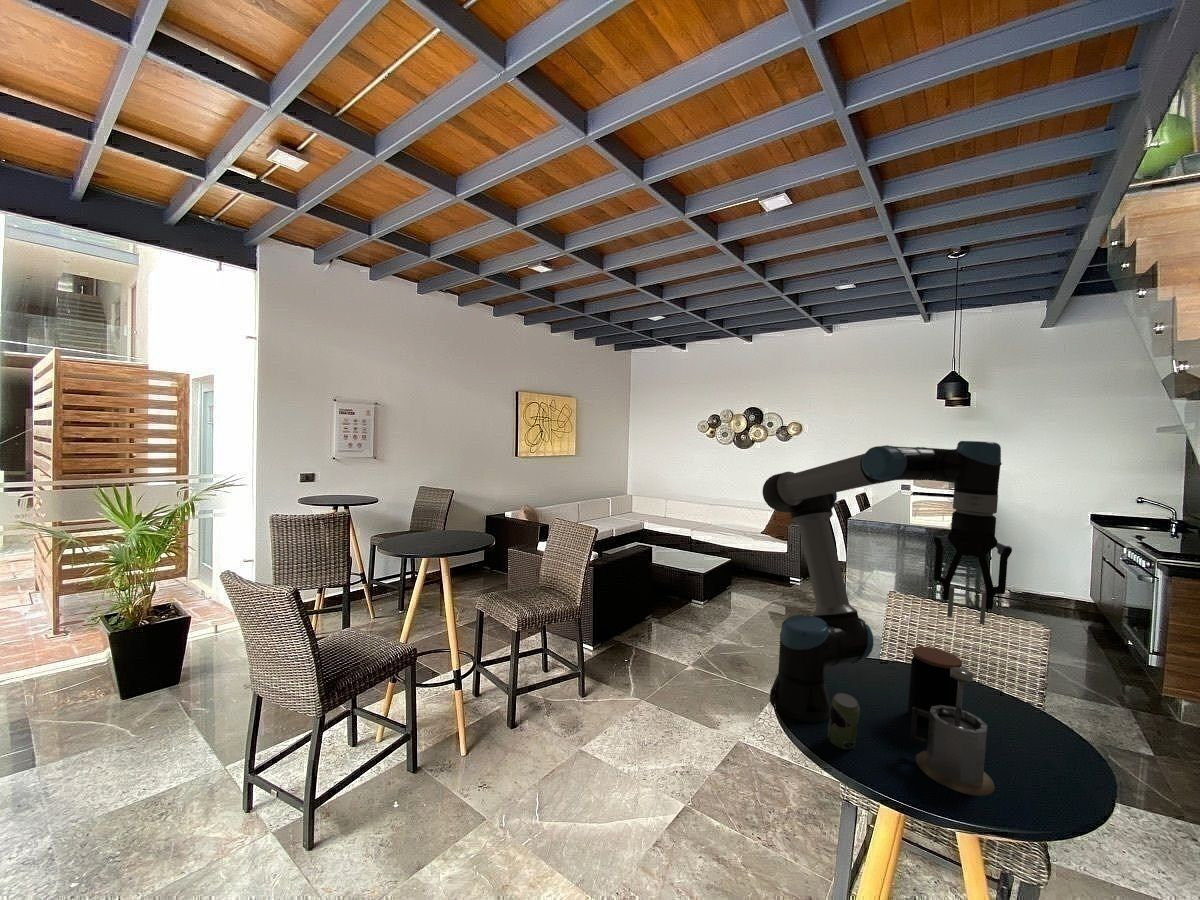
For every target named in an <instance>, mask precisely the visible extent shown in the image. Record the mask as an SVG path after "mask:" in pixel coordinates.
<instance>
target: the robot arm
mask: <svg viewBox="0 0 1200 900" xmlns="http://www.w3.org/2000/svg"><path fill="white" fill-rule="evenodd" d="M1001 458H1002V447H1001V445H1000V443H997V442H995V441H976V440H959V441H958V443H957V445H956V448H954V449H951V448H949V449H948V448H936V447H923V446H921V447H920V446H917V447H913V446H910V447H908V446H895V445H878V446H873V447H871V448H869V449H868V450H867V451H865V453H862V454H859V455H855V456H854V455H853V456H852V457H847V458H844V459H840V460H837V461H833V462H829V463H826V464H823V465H818V466H816V467H812V468H809V469H805V470H802V471H798V472H793V471H784V472H780V473H776V474H774V475H773V474H772V475H771V476H770V477H768V479H766V480H765V482H764V484H763V485H762V497H763V500H764V502H765V503H766V505H768V507H770V508H771V509H773V510H774V511H777V512H781V513H790V518H791V521H792V522H794V523H795V524H796V525H798V529H799V534H800V538H801V542H802V547H803V548H802V549H803V552H804V555H805V561H806V565H807V568H808V573H809V578H810V583H811V587H812V592H813V595H814V600H815V605H816V607H815V610H814V612H813V613H812V615H804V614H796V615H791V616H789V617H787V618H785V619H784V620H783V621H782V624H781V629H780V633H779V653H778V655H779V657H778V672H777V674H776V677H775V680H774V682H773V684H772V686H771V689H770V691H769V702H770V705H771V706H772V707H773V708H774V709H775V706H774V690H775V686H776V690H775V703H776V708H777V710H776V711H777V712H778V711H779V713H780V714H781V715H784V716H785V717H787V718H790V719H793V720H796V721H798V722H802V723H803V722H804V723H811V724H814V723H822V722H825V721H828V720H829V717H830V708H831V702H830V701H831V700H830V698H829V695H828V691H827V686H826V672H827V671H826V670H827V668H830V667H835V666H839V665H840V666H841V665H846V664H851V665H852V664H856V663H858V662H860V661H863V660H865V659H867V658H868V657H869V656H870V654H871V653H872V651H873V648H874V634H873V632H872V629H871V627H870V625H868V624H867V623H866V621H865V620H864V619H862V618H861V617H859V614H858V610H857V609H856V608H854V607H853V606H852V605H851V604H850V602H849V597H848V593H847V590H846V589H847V588H846V586H845V581H844V578H843V573H842V569H841V565H840V564H841V563H840V561H839V557H838V552H837V549H836V546H835V545H836V544H835V541H834V540H835V539H834V536H833V532H832V528H831V524H830V519H831V518H832V516H833V514H834V513H833V508H834V507H835V505H836V501H837V498H838V494H837V493H841V492H844V491H849V490H854V489H858V488H863V487H867V486H873V485H877V484H883V483H888V482H893V481H933V482H945V483H953V486H954V488H953V489H954V491H953V500H952V508H953V510H955V511H953V512H952V514H951V525H950V527H951V528H950V531H949V533H948V534H947V535H942V536H941V535H936V536H935V537H933V541H934V545H935V560H934V570H933V571H934V572H933V580H934V581H935V582H937V583H940V584H941V585H942V596H941V597H942V600H943V601H947V602H948V603H947V613H946V614H947V615H946V616H947V618H953V614H954V613H953V612H954V611H953V610H954V601H955V599H954V598H955V587H956V585H953V584H951V583H952V580H953V579H954V576H955V573H956V572H957V569H958V566H959V564H960V562H961V559H962V557H963V556H972V557H974V558H978V563H979V566H980V570H981V574H982V579H983V582H984V587H985V590H986V591H984V590H982V591H981V605H980V616H979V625H982V626H985V621H986V610H990V611H991V610H992V609H993V607H994V597H995V595H1004V594H1005V593H1006V587H1007V586H1006V585H1007V575H1008V571H1007V570H1008V559H1009V558H1010V556H1011V554H1012V553H1013V552H1012V551H1013V547H1012V546H1010V545H1005V544H1002V543H1001V542H1000V543H999V542H998V540H997V538H996V525H997V517H996V516H995V515H996V514H997V513H998V500H999V482H1000V473H1001V466H1002V459H1001ZM994 514H995V515H994ZM948 541H949V542H950V543H951V545H952V547H953V548H954V549H955V550H956V551H955V554H954V556H953V559H952V561H951V563H950V566H949V568H948V571H947V573H946V575H945V576H942V573H943V564H944V563H943V562H944V553H945V552H944V551H945V547H946V545H947V544H948V543H947V542H948ZM994 548H996V549H997V554H998V555H999V556H1000V557H999V569H998V581H997V582H998V583H997V586H994V584H993V579H992V574H991V571H990V567H989V562H988V558H987V555H988V554H989V553H990V552H991V551H992V550H994Z"/></svg>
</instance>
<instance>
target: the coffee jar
mask: <svg viewBox="0 0 1200 900" xmlns="http://www.w3.org/2000/svg"><path fill="white" fill-rule="evenodd" d="M911 651H912V652H911V654H912V655H913V656H912V659H911V662H910V675H909V677H910V678H909V689H908V701H907V702H908V703H907V714H908V717H909V718H910V719H911V716H912V707H913V706H914V707H916V708H919V709H922V710H925V711H928V712H930V709H931V707H932V706H937V705H944V706H952V707H955V708H956V700H957V687H958V680H956V679H954V678H952V677H951V676H950V668H951V667H959V668H962V667H963V665H962V664H963V661H962V659H961V658H960V657H958V656H957V655H955V654H953V653H951V652H949V651H947V650H946V651H945V650H943V649H939V648H935V647H930V646H915V647H913V648H912V650H911ZM917 725H919V726H920V727H922V728H924V729H926V730H928V728H929V718H926V717H923V716H920V715H917Z"/></svg>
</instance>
